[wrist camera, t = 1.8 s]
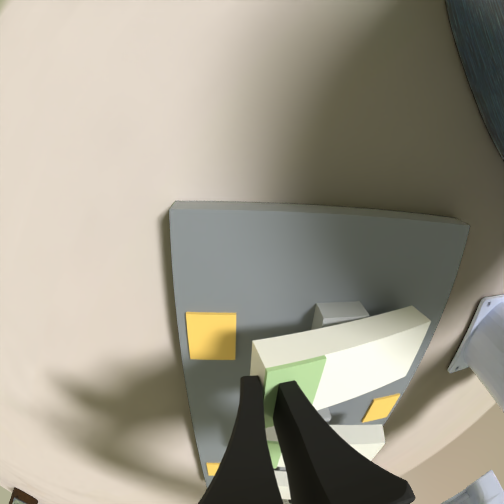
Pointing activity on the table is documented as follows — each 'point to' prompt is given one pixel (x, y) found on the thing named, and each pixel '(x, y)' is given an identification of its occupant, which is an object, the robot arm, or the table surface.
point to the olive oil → (21, 498)
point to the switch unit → (296, 293)
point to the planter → (482, 57)
